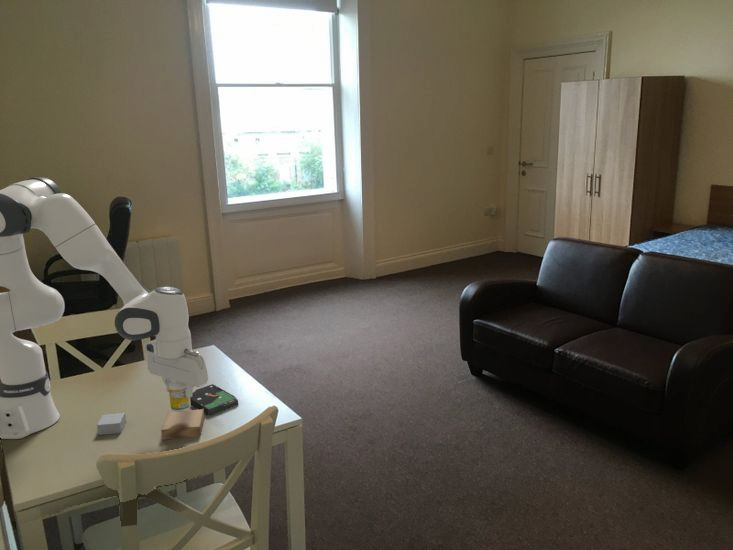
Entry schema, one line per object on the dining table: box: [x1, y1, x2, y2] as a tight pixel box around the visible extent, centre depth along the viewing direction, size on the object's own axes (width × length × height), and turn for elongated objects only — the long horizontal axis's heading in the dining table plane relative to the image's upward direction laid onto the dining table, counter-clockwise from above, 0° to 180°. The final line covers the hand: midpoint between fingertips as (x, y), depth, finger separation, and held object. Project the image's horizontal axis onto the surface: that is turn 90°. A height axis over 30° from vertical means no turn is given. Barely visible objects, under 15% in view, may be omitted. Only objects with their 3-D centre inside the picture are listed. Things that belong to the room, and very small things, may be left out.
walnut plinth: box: [161, 409, 205, 441], centre depth 168 cm, size 10×10×3 cm
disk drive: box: [190, 383, 239, 417], centre depth 183 cm, size 10×3×15 cm
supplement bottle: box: [168, 378, 192, 412], centre depth 165 cm, size 5×5×10 cm
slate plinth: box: [96, 412, 127, 436], centre depth 169 cm, size 6×6×3 cm
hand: (179, 394), depth 165 cm, fingers closed on supplement bottle, 5 cm apart
